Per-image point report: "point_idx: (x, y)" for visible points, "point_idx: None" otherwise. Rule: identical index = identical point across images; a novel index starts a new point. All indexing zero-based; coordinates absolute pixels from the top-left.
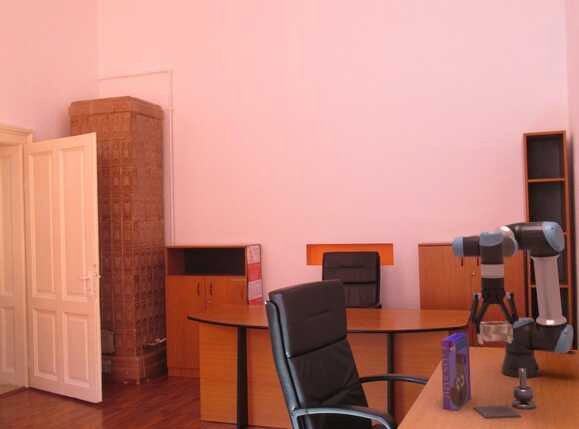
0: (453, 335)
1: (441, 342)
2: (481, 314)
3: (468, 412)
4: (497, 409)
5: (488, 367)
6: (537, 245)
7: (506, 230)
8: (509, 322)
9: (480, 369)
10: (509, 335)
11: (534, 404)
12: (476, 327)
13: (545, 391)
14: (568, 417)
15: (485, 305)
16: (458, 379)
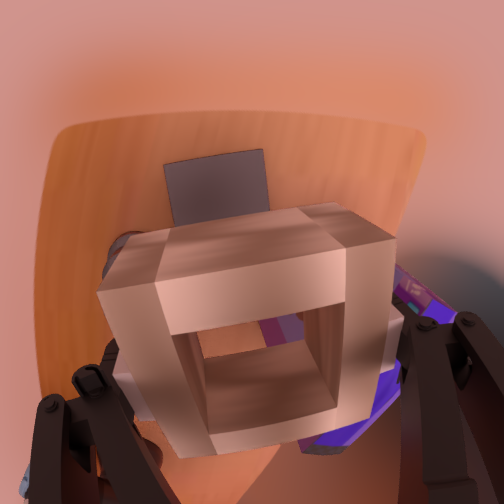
0: (377, 411)
1: (455, 311)
2: (444, 387)
3: (292, 200)
4: (214, 212)
5: (183, 472)
6: None
7: None
8: (121, 398)
9: (198, 465)
10: (149, 244)
11: (112, 247)
12: (412, 310)
13: (83, 363)
14: (55, 173)
15: (466, 480)
16: None
